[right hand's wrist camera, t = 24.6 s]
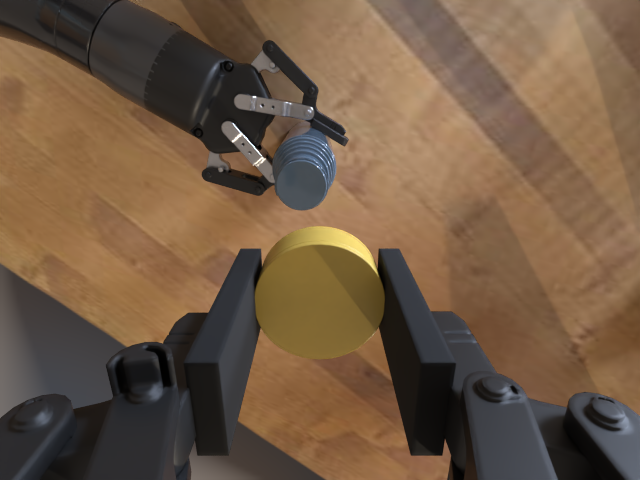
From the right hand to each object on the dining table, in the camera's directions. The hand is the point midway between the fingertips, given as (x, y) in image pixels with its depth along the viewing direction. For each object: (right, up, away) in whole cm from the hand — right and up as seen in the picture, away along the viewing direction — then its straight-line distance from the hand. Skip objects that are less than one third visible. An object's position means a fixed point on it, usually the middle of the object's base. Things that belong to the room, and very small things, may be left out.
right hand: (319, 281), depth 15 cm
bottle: (-1, +12, +28) cm, 30 cm away
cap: (0, 0, -1) cm, 2 cm away
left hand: (+1, +9, +22) cm, 24 cm away
